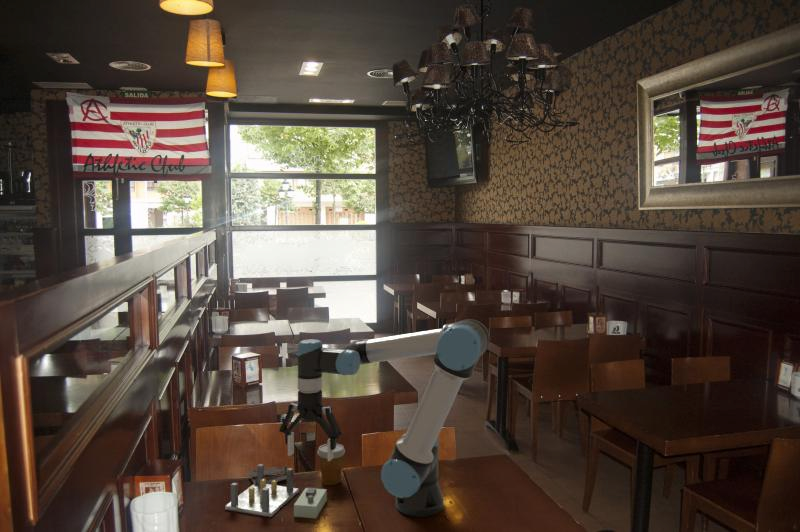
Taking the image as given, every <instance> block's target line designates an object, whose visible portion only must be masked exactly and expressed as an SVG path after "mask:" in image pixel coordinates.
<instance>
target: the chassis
mask: <svg viewBox="0 0 800 532" xmlns="http://www.w3.org/2000/svg"><path fill="white" fill-rule="evenodd" d="M256 468H257V469H256V471H257V478H256V481H257V484H255V483H254V482H253V484H252V485H251V486H249V487H248V488H247V489H245V490H244V491H243V492H241V493H240V494H239V483H238V482H232V483H231V484H230V502H228V503H227V504H225V507H224V508H225V510H227V511H232V512H233V511H234V512H239V513H245V514H251V515H256V516H261V517H262V516H263V517H267V516H268V517H269V518H272V517H273V516H275V514H276V513H277V512H278V511H280V508H281V507H282V508H283V507H284V506H285V505H287V503H288V502H290V501H291V500H292V499H293V498H294V496H296V495H297V494H298V493H299V488H297V487H294V468H292V467H287V470H286V473H287V479H286V486H284V485H283V486H282V485H278V482H277V481H276V480H272V481H271V483H270V484H266V478H265V475H264V469H265V464H264V463H258V464H257V465H256ZM264 478H265V479H264ZM283 505H284V506H283ZM282 508H281V509H282Z"/></svg>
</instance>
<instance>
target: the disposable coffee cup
mask: <svg viewBox="0 0 800 532" xmlns="http://www.w3.org/2000/svg"><path fill="white" fill-rule="evenodd" d="M345 453H346V450H345V448H344V445H343V444H340V443H336V448H335V449H334V450H333V459H332V460H331V461H328V443H325V444H322V445H320V446H319V447H318V449H317V453H316V454H317V456H318V458H319V460H318V462H319V468H320V474H321V482H322V484H324V485H326V486H336V485H338V484H339V483H341V479H342V471H343V462H344V455H345Z"/></svg>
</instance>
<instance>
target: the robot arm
mask: <svg viewBox="0 0 800 532" xmlns="http://www.w3.org/2000/svg"><path fill="white" fill-rule="evenodd" d="M489 346H490V333H489V330H488V329H487V327H486V326H485V325H484V324H483V323H482V322H480V321H479V320H476V319H473V318H469V319H468V318H466V319H463V320H460V321H456V322H452V323H445V324H444V325H443V326H442V328H436V329H428V330H422V331H416V332H415V331H414V332H411V333H410V332H409V333H403V334H395V335H390V336H384V337H378V338H377V337H376V338H370V339H358V340H353V341H352V342H349V343H347V344H345V345H343V346H341V347H338V348H330V347H329V348H328V347H323V342H322V341H321V340H320V339H315V338H311V339H303V340H301V341H299V342H298V343H297V355H296V356H297V390H298V391H297V403H298V404H297V403H296V402H291V403H289V404H288V409H287V412H286V414H285V417H284V419H283V422H282V423H281V424H280V428H279V432H280V433H283V434H284V436H285V437H284V439H285V441H284V442H285V445H287V456H288V457H290V456H292V455H294V453H295V433H294V432H293V431H294V429H295V428H296V427H297V425H299V423H300V422H301V421H302V420H304V421H308V420H309V421H313V422H314V421H315V422H316V423H317V424H319V426H320V427H321V429H322V431H324V433H325V434H326V436H327V437H328V439H327V442H326V443H327V444H328V461H331V460H332V459H333V450H334V449H335V448H336V444H337V439H339V438H341V437H342V435H343V433H342V431H341V429H340V426H339V425H338V422H337V419H336V418H335V416H334V414H333V407H332V406H331V405H329V406H323V390H322V389H323V374H324V373H325V374H332V375H342V376H354V375H356V374H357V373H358V371H359V369H360V366H361V365H369V364H373V363H381V362H388V361H394V360H402V359H411V358H417V357H423V356H424V357H427V356H432V355H433V358H432V363H433V364H434V370H433V371H432V372H433V373H432V374H431V377H430V379H429V381H428V384H427V386H426V388H425V390H424V392H423V395H422V398H421V399H420V402H419V404H418V407H417V409H416V410H415V413H414V416H413V418H412V419H411V422H410V425H409V427H408V429H407V431H406V432H405V433H404V434H402V436H401V438H399V439H397V441H396V442H395V445H394V448H393V450H392V452H391V455H390V456H389V458H388V460H386V461H385V463H383V466H382V467H381V472H380V479H381V482H382V485H383V486H384V489H385V490H386V491H387V492H388V493H389V494H391V495H392V496H393V497H395V507H396V510H398V512H400V513H402V514H403V515H406V516H409V517H415V518H417V517H418V518H423V517H424V518H426V517H431V515H432V516H435V515H437V514H439V513H440V512H442V510H443V509H444V497H443V494H442V491H441V487H440V484H439V447H440V445H439V438H438V437H439V435H440V432H441V430H442V427H443V426H444V424H445V421H446V419H447V417H448V415H449V412H450V410H451V408H452V406H453V405H454V401H455V400H456V397H457V394H458V392H459V390H460V389H461V387H462V384H463V382H464V381H466V380H469V379H471V377H472V376H473V372H474V371H475V369H476V367H477V364H478V362H479V360H480V358H481V357H482V356H483V354H485V353H486V351H487V350H488V348H489ZM296 410H297V411H298V413H299V414H298V415H297V416H296V417H295V419H294V420H293V421H292V423H291V420H292V418H293V416H294V414H295V411H296ZM324 415H325V416H324ZM290 423H291V424H290ZM289 424H290V425H289ZM438 512H439V513H438ZM434 514H435V515H434Z"/></svg>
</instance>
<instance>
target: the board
mask: <svg viewBox="0 0 800 532" xmlns="http://www.w3.org/2000/svg"><path fill="white" fill-rule="evenodd" d="M327 491H328V490H327V489H325V488H317V487H305V488H304V489H303V491H302V493H300V496H299V497H298V499H297V500H296V501H295V502H294V504H293V517H294V518H306V519H317V518H318V517H319V514H320V513H321V511H322V510H323V507H324V506H325V505H326V503H327V500H328V499H327V495H328V493H327Z"/></svg>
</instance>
